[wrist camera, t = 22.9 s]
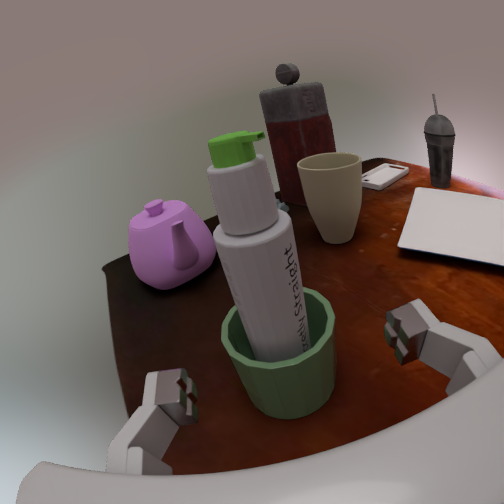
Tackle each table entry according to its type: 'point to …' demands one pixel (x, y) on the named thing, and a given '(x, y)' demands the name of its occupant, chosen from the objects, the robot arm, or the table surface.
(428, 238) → the plate
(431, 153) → the beverage cup
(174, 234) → the teapot
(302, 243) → the table surface
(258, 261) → the bottle
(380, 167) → the phone case
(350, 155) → the mug
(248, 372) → the green cup
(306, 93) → the red grey decanter
